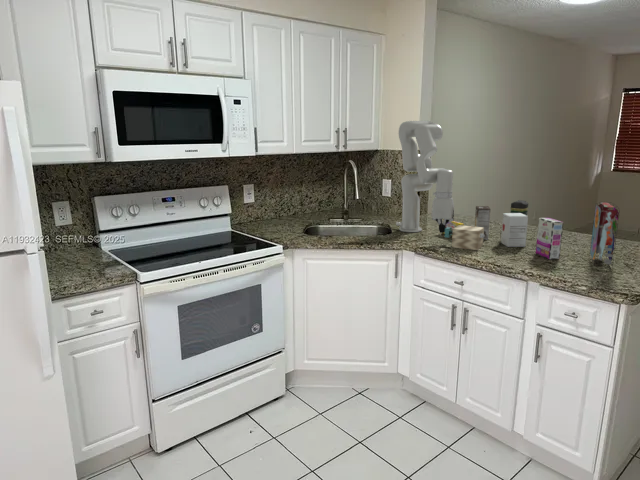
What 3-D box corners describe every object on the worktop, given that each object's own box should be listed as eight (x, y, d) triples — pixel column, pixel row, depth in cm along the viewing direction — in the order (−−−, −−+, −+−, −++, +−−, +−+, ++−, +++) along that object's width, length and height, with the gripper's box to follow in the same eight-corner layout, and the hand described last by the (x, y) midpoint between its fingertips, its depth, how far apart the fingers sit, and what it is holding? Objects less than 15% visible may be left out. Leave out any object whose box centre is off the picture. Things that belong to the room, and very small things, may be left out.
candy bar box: (560, 259, 193) (564, 221, 190) (549, 259, 193) (553, 222, 189) (545, 252, 204) (549, 217, 201) (534, 253, 204) (538, 217, 200)
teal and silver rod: (444, 237, 221) (444, 228, 220) (447, 235, 225) (447, 226, 224) (482, 241, 212) (483, 232, 211) (484, 239, 215) (485, 230, 214)
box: (586, 252, 203) (593, 198, 197) (602, 254, 200) (609, 199, 195) (594, 268, 181) (601, 207, 175) (612, 269, 178) (620, 208, 173)
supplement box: (500, 242, 225) (502, 212, 221) (518, 242, 224) (520, 212, 221) (506, 247, 216) (509, 216, 212) (526, 246, 215) (528, 215, 212)
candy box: (442, 233, 248) (442, 218, 246) (445, 233, 248) (446, 218, 247) (460, 239, 233) (461, 223, 231) (463, 239, 234) (464, 223, 232)
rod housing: (451, 247, 217) (452, 228, 215) (458, 242, 225) (458, 225, 223) (477, 250, 211) (478, 231, 209) (482, 245, 219) (484, 227, 217)
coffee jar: (522, 238, 233) (525, 202, 229) (506, 236, 238) (509, 201, 233) (527, 234, 240) (530, 200, 236) (511, 232, 245) (514, 198, 241)
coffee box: (473, 235, 241) (475, 205, 237) (486, 235, 239) (488, 205, 236) (475, 239, 232) (477, 208, 228) (488, 239, 231) (491, 208, 227)
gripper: (426, 195, 220) (424, 232, 225) (456, 197, 212) (454, 235, 217) (431, 193, 226) (430, 229, 231) (461, 195, 218) (459, 232, 223)
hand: (442, 232), depth 224 cm, fingers closed
